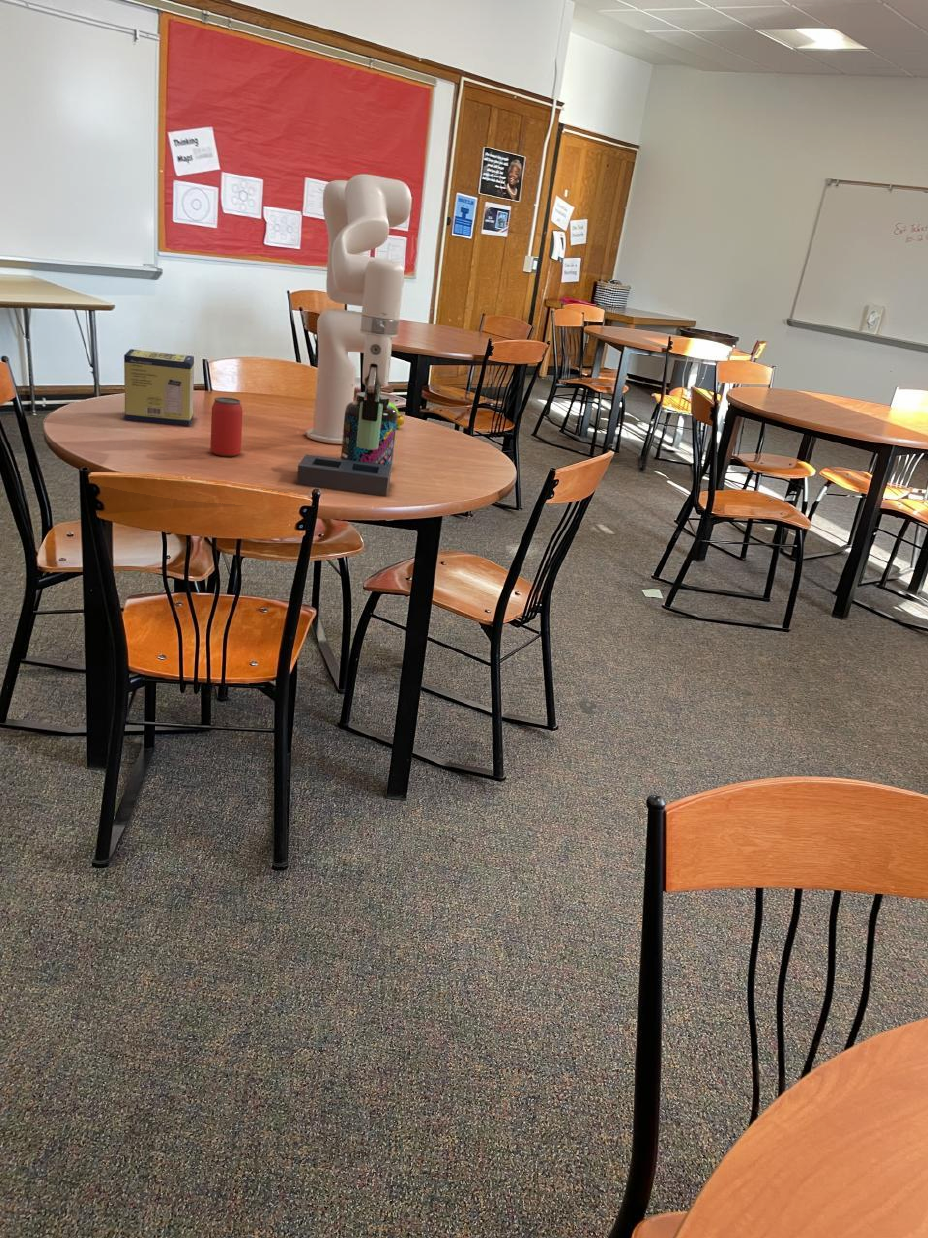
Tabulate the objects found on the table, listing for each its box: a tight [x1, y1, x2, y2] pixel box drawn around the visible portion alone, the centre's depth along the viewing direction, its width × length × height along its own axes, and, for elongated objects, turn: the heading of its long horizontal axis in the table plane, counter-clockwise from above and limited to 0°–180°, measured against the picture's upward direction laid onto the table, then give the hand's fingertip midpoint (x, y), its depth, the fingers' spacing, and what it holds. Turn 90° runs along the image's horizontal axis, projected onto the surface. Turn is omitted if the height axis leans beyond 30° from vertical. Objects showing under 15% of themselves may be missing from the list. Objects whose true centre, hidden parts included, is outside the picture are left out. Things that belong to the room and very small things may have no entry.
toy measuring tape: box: [388, 401, 405, 430], centre depth 255 cm, size 6×20×7 cm, turn 58°
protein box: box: [123, 348, 195, 427], centre depth 220 cm, size 10×16×16 cm
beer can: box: [209, 396, 244, 458], centre depth 199 cm, size 7×7×12 cm
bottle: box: [356, 392, 383, 449], centre depth 187 cm, size 5×5×12 cm
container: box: [340, 391, 397, 467], centre depth 207 cm, size 12×12×17 cm
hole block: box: [296, 453, 392, 497], centre depth 191 cm, size 11×19×4 cm, turn 91°
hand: (370, 416), depth 186 cm, fingers closed on bottle, 4 cm apart
